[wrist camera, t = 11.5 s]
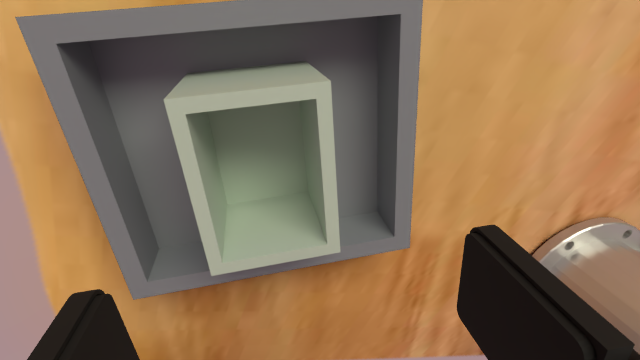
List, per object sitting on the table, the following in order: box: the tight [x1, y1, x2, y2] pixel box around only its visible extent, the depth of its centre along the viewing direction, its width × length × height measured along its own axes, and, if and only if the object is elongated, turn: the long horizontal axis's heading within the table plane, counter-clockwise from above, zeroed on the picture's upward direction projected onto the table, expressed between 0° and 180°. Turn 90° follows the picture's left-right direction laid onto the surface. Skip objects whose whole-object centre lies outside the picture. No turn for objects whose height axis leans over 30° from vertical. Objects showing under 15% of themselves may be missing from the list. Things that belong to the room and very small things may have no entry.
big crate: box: [15, 0, 423, 300], centre depth 19 cm, size 16×14×4 cm
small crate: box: [163, 61, 340, 276], centre depth 17 cm, size 6×8×6 cm
